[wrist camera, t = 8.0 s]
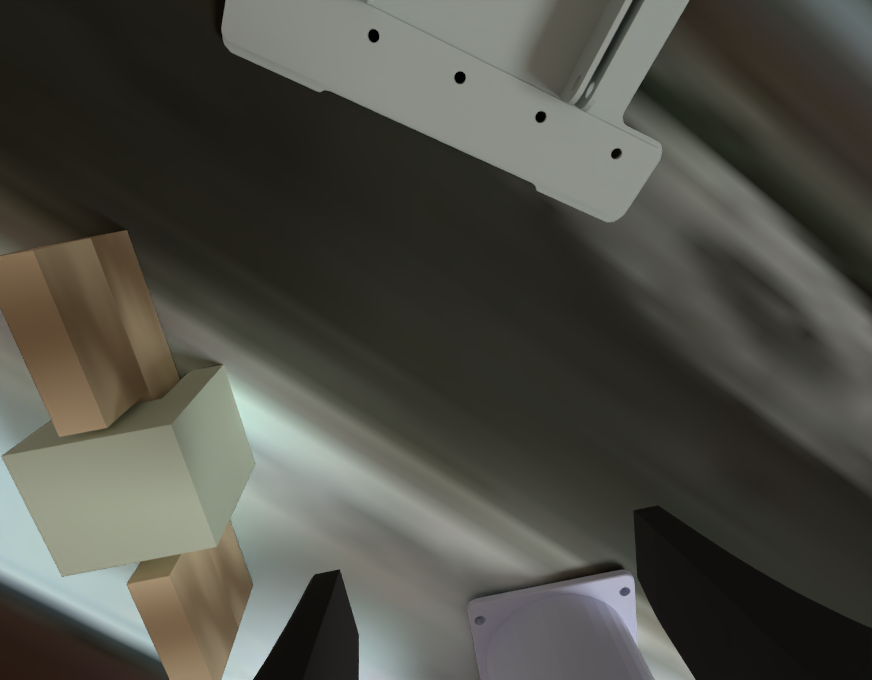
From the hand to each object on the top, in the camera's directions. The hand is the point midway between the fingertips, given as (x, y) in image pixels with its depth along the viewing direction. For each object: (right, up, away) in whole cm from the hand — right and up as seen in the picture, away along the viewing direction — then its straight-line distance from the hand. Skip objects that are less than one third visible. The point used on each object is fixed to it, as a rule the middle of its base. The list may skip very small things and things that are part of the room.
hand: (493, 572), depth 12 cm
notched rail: (-12, +2, +8) cm, 14 cm away
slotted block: (-12, +2, +8) cm, 14 cm away
